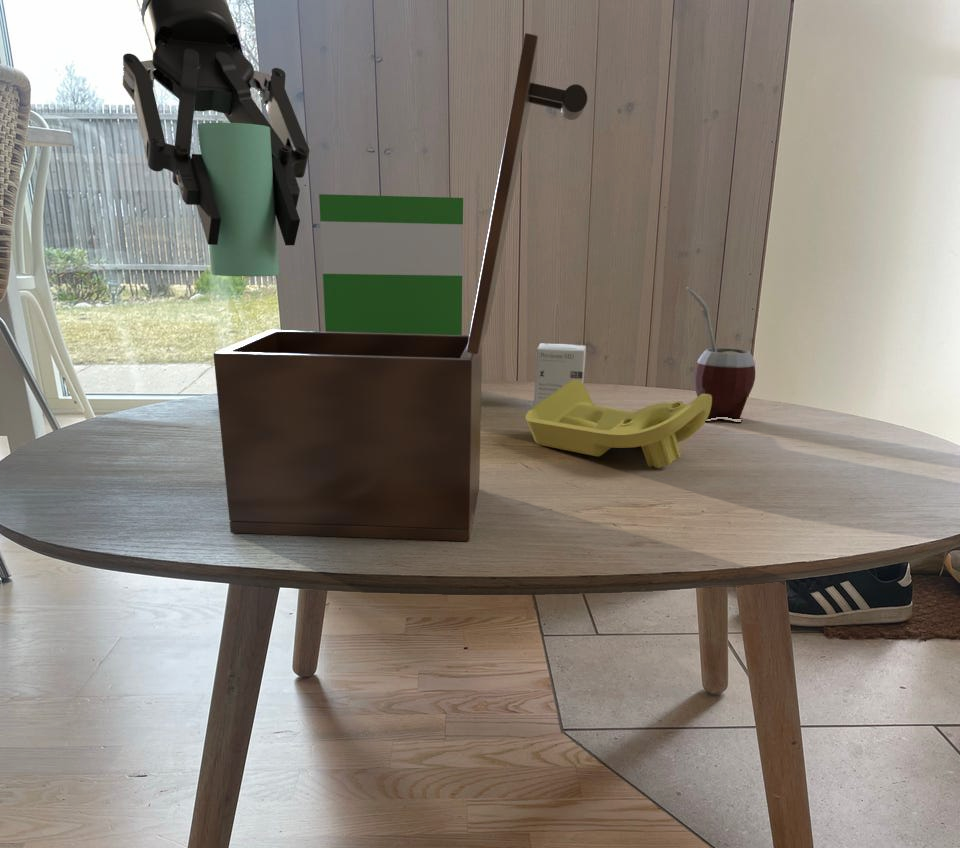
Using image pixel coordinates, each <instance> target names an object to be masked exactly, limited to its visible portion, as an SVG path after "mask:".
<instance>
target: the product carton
mask: <svg viewBox="0 0 960 848" xmlns="http://www.w3.org/2000/svg"><path fill="white" fill-rule="evenodd" d="M586 353H587V345H586V344H570V343H569V344H568V343H567V344H566V343H547V342H546V343H545V342H544V343H543V342H541V343H539V345H538V347H537V348H536V358H535V377H534V378H535V379H534V391H533V392H534V393H533V407H534V406H536V405H537V404H538V403H540V402H541V401H543V400H544V399H545V398H547V397H548V396H550V395H551V394H552V393H554V392H555V391H556V390H558V389H559V388H561V387H562V386H563V385H565V384H566V383H568V382H569V381H570V380H578V381H580V382H582V383H583V384H584V380H585V378H584V377H585V367H586V366H585V365H586Z"/></svg>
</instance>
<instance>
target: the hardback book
mask: <svg viewBox="0 0 960 848" xmlns="http://www.w3.org/2000/svg"><path fill="white" fill-rule="evenodd" d="M318 201H319V222H320V242H321V245H320V246H321V264H322V284H323V285H322V287H323V307H324V308H323V309H324V326H325V327H324V328H325V330H324V331H326V332H363V333H401V334H438V335H463V265H464V264H463V263H464V262H463V261H464V259H463V258H464V257H463V255H464V253H463V252H464V251H463V250H464V249H463V247H464V197H450V196H449V197H448V196H447V197H444V196H443V197H442V196H409V195H408V196H406V195H405V196H404V195H403V196H401V195H363V194H326V193H325V194H324V193H323V194H321V193H319V194H318Z"/></svg>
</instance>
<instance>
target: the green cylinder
mask: <svg viewBox="0 0 960 848" xmlns="http://www.w3.org/2000/svg"><path fill="white" fill-rule="evenodd" d="M196 126H197V136H198V137H197V138H198V149H199V154H201V155H202V158H203V161H204V164H205V168H206V171H207V174H208V178H209V181H210V184H211V187H212V191H213V194H214V197H215V201H216V204H217V207H218V210H219V214H220V217H221V222H220V230H219V237H218V245H208V254H209V256H208V257H209V266H210V274H211V275H212V276H220V277H221V276H223V277H276V276H279V275H280V265H279V248H278V235H277V233H278V232H277V218H276V215H275V200H274V184H273V169H272V153H271V137H270V127H267V126H263V125H255V124H243V123H230V122H201V123H197V125H196Z"/></svg>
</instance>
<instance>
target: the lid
mask: <svg viewBox="0 0 960 848" xmlns="http://www.w3.org/2000/svg"><path fill="white" fill-rule="evenodd" d="M538 41H539V36H538V35H537V34H532V33H528V32H525V33H524V36H523V42H522V47H521V52H520V59H519V63H518V69H517V74H516V80H515V84H514V91H513V97H512V102H511V107H510V113H509V118H508V124H507V127H506V134H505V140H504V145H503V151H502V155H501V162H500V167H499V171H498V172H499V173H498V178H497V184H496V188H495V194H494V200H493V205H492V209H491V210H492V211H491V216H490V220H489V226H488V233H487V237H486V242H485V243H486V244H485V249H484V255H483V260H482V265H481V271H480V275H479V282H478V287H477V292H476V298H475V304H474V310H473V315H472V319H471V325H470V331H469V341H468V346H467V352H469V353H474V354H478V352H479V350H480V347H481V345H482V346H483V342H484V340H485V337H486V335H487V333H488V329H489V323H490V319H491V314H492V310H493V309H492V307H493V302H494V298H495V294H496V293H495V291H496V287H497V283H498V277H499V272H500V266H501V261H502V255H503V250H504V245H505V240H506V236H507V235H506V234H507V230H508V225H509V220H510V214H511V210H512V209H511V208H512V204H513V203H512V202H513V197H514V193H515V187H516V183H517V177H518V173H519V172H518V171H519V167H520V161H521V156H522V151H523V147H524V140H525V135H526V130H527V124H528V120H529V115H530V110H531V105H537V106H540V107H546V108H550V109H555V110H558V111H559V110H560V112H561V114H562V116H563V118H565V119H566V120H569V121H574V120H577V119H578V118H580V117H581V116H582V114H583V112H584V110H585V108H586V106H587V103H588V93H587V92H588V91H587V90H586V88H585V87H583V86H582V85H580V84H577V83H576V84H575V83H574V84H571V85H569V86H568V87H566V89H561V88H557V87H553V86H548V85H545V84H544V85H543V84H539V83H535V82H536V77H537V71H538V70H537V69H538V67H537V66H538V48H539V47H538V45H539V44H538V43H539V42H538Z"/></svg>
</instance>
